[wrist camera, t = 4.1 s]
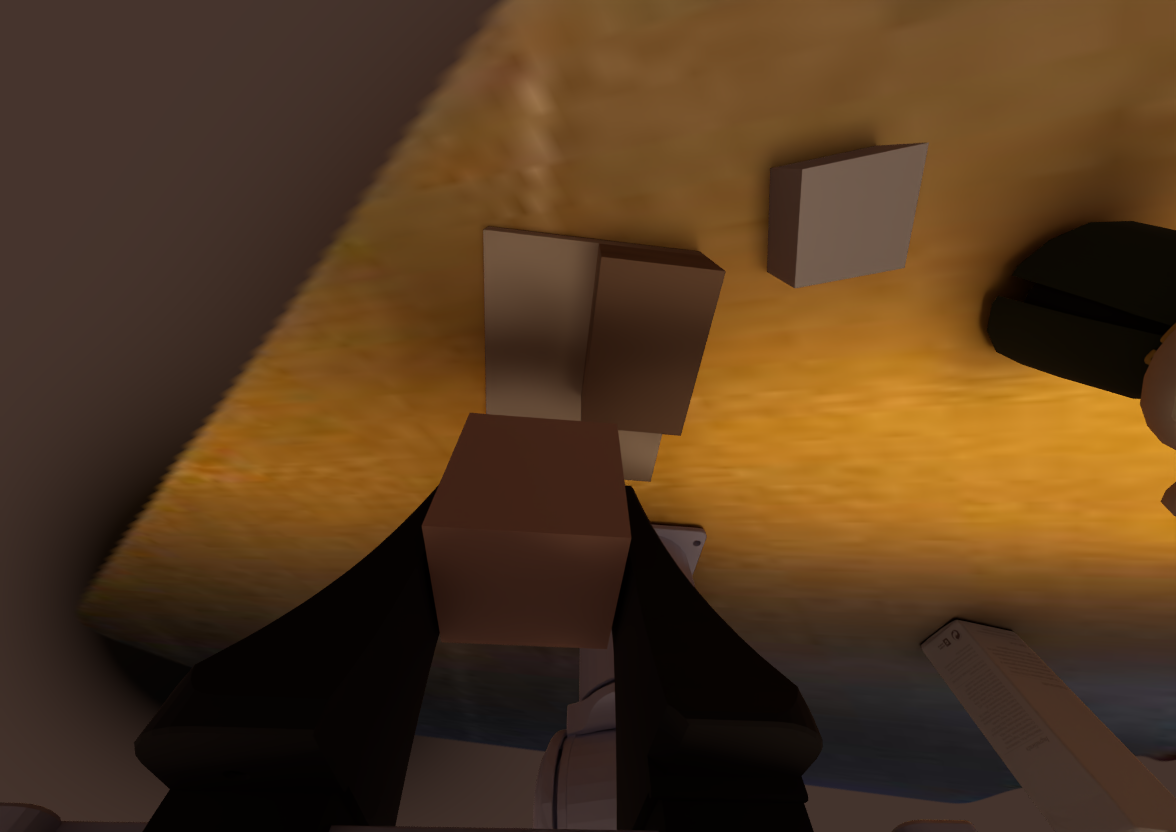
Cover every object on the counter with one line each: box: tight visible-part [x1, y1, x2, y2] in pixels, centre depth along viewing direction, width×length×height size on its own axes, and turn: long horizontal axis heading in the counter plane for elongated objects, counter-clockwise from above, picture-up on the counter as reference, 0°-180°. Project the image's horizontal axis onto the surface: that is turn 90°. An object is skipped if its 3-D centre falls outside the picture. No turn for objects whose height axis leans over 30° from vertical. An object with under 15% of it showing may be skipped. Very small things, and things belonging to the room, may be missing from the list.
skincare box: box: [921, 620, 1176, 832], centre depth 28 cm, size 6×4×12 cm
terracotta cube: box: [422, 413, 631, 649], centre depth 11 cm, size 4×4×4 cm
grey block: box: [767, 143, 929, 288], centre depth 16 cm, size 4×4×3 cm
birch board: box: [483, 226, 705, 482], centre depth 20 cm, size 12×9×1 cm
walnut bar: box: [581, 243, 726, 436], centre depth 18 cm, size 7×4×3 cm, turn 174°
